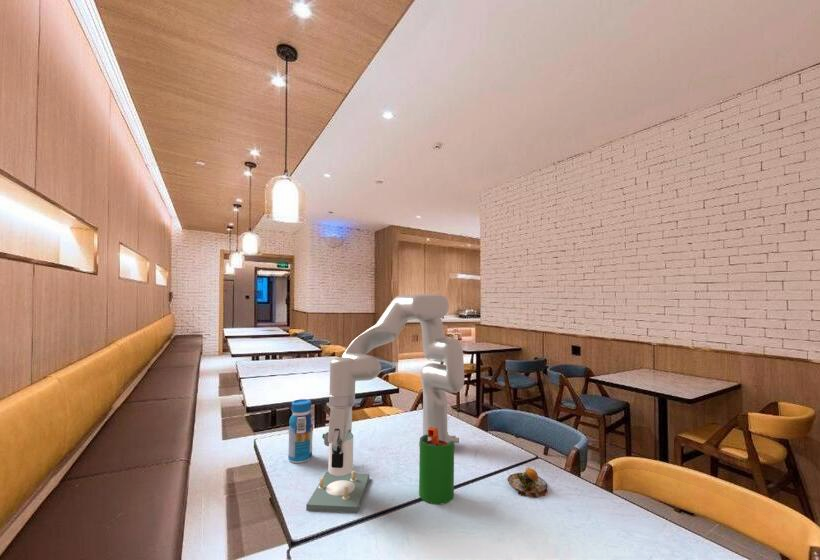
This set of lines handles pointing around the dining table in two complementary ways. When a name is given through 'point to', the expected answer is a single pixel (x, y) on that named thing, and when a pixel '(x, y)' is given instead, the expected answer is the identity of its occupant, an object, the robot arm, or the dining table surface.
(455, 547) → the dining table surface
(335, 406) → the robot arm
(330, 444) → the can
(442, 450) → the motor
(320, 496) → the pin board
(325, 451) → the dining table surface
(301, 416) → the beverage bottle
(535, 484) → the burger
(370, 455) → the dining table surface
